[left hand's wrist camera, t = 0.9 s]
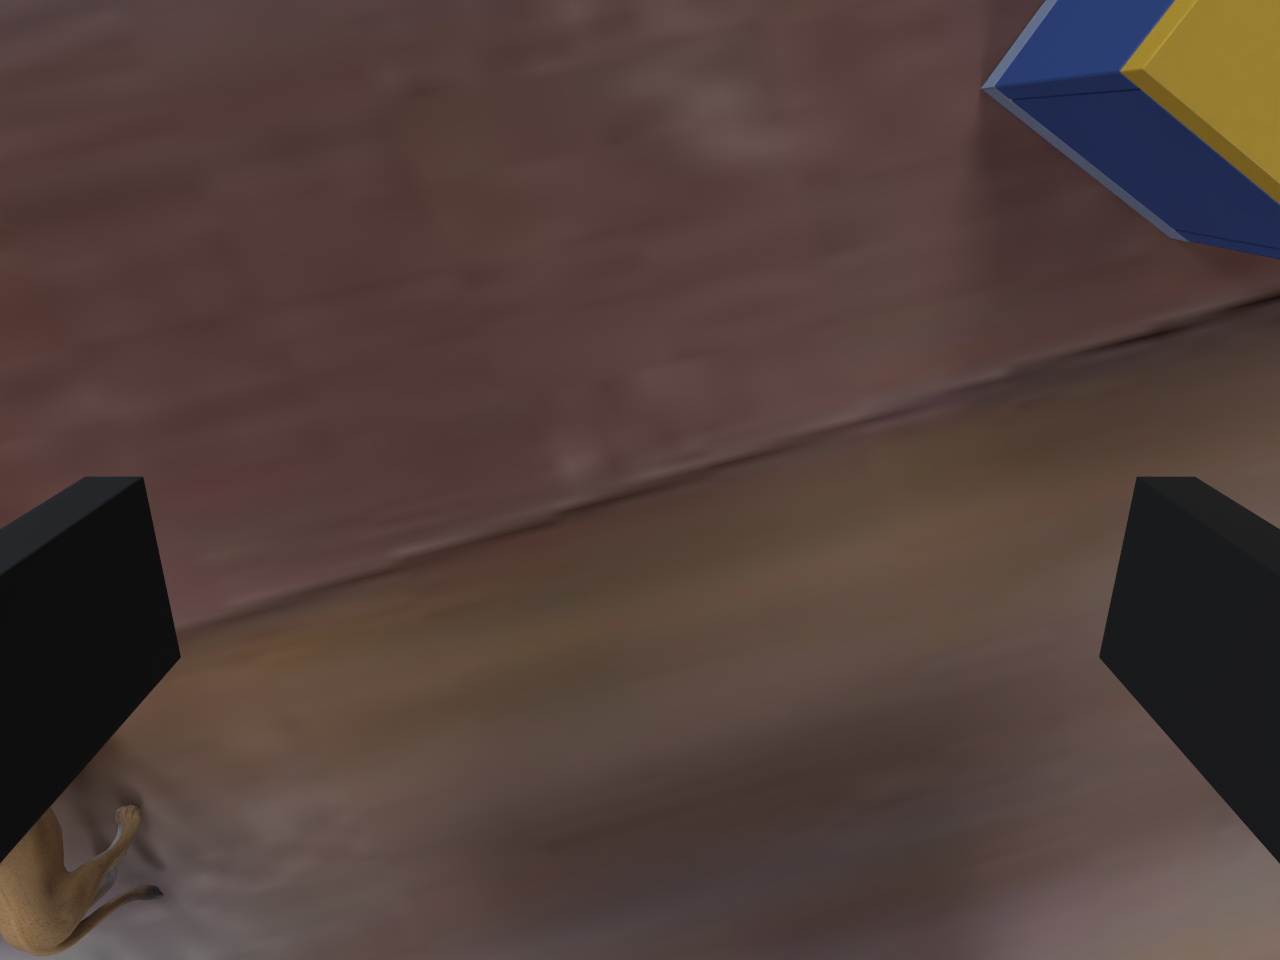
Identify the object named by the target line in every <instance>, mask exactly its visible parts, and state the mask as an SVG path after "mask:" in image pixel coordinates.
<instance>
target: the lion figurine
mask: <svg viewBox="0 0 1280 960" xmlns="http://www.w3.org/2000/svg"><path fill="white" fill-rule="evenodd" d="M115 820H116V822H117V824H118V832H117V835H116V838H115V840H114V841H113V843H112V844H111V846H110V847H109V848H108V849H107V850H106V851H104V852H103V853H101V854H99V855H98V856H96V857H94V858H93V859H91V860H89V861H88V862H86V863H85V864H83V865H82V866H80V867H79V868H78V869H76V870H75V871H73V872H68V871H67V870H66V868H65V866H64V851H63V839H62V830H61V827H60V825H59V823H58V820H57V818H56V816H55V814H54V812H53V811H52V809H51V808H50V807H49V808H48V810H47V811H46V812H45V813H44V814H43V815H42V816H41V818H40V819H39V820H38V821H37V822H36V823H35V824H34V826H33V827H32V828H31V829H30V830H29V831H28V832H27V834H26V835H25V836H24V837H23V838H22V839H21V840H20V842H19V843H18V844H17V845H16V846H15V847H14V848H13V850H12V851H11V852H10V853H9V854H8V855H7V856H6V858H5V859H4V860H3V861H2V862H1V863H0V933H1V935H2V936H3V938H4V940H5V941H6V942H7V943H9V944H10V945H11V946H13V947H15V948H16V949H19V950H21V951H27V952H29V953H31V954H32V955H35V956H50V955H55V954H58V953H60V952H62V951H64V950H65V949H67V948H69V947H71V946H72V945H73V944H75V943H76V942H77V941H79V940H80V939H81V938H82V937H83V936H84V935H86V934H87V933H88V932H89V931H90V930H92V929H93V928H94V927H95V926H96V925H97V924H98V923H100V922H101V921H102V920H103V919H104V918H106V917H107V916H108V915H109V914H110V913H112V912H113V911H114V910H115V909H117V908H118V907H120V906H122V905H123V904H126V903H128V902H130V901H133V900H149V899H156V898H161V897H163V893H162V892H161V891H160V890H159V888H158V887H157V886H154V885H145V886H141V887H135V888H133V889H131V890H129V891H127V892H125V893H123V894H121V895H119V896H117V897H115V898H114V899H112V900H110V901H109V902H108V903H106V904H105V905H103V906H102V907H100V908H99V909H97V910H96V911H95V912H94V913H92V914H91V915H90V916H88V917H87V918H85V919H84V920H82V919H83V917H84V916H85V914H86V912H87V911H88V909H89V908H90V907H92V906H93V905H94V904H95V903H96V902H97V901H98V900H99V899H100V898H101V897H102V896H103V895H104V894H105V893H106V892H107V891H108V890H109V889H110V888H111V887H112V886H113V884H114V882H115V879H116V877H117V870H116V868H115V865H116V864H118V863H119V862H120V861H121V860H122V859H123V858H124V856H125V854H126V851H127V849H128V846H129V844H130V841H131V839H132V837H133V835H134V834H135V832H136V831H137V829H138V827H139V825H140V823H141V820H142V812H141V810H140V809H139V808H138V807H136V806H134V805H126V806H122V807H120V808H119V809H118V810H117V811H116V814H115ZM81 920H82V921H81Z"/></svg>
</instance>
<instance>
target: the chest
mask: <svg viewBox="0 0 1280 960" xmlns="http://www.w3.org/2000/svg"><path fill="white" fill-rule="evenodd" d="M1174 1H1175V0H1045V2H1044V3H1043V4H1042V6H1041V7H1040V9H1039V10H1038V11H1037V13H1036V14H1035V15H1034V17H1033V18H1032V19H1031V21H1030V22H1029V24H1028V25H1027V26H1026V28H1025V29H1024V30H1023V32H1022V33H1021V34H1020V36H1019V37H1018V39H1017V40H1016V41H1015V43H1014V44H1013V45H1012V47H1011V48H1010V50H1009V51H1008V52H1007V54H1006V55H1005V56H1004V58H1003V59H1002V60H1001V62H1000V63H999V65H998V66H997V67H996V69H995V70H994V71H993V73H992V74H991V75H990V77H989V78H988V80H987V81H986V82H985V84H984V85H983V86H982V88H981V89H982V90H983V91H985V92H986V93H987V94H988V95H990V96H991V97H992V98H994V99H995V100H996V101H997V102H999V103H1000V104H1001V105H1002V106H1004V107H1005V108H1006V109H1007V110H1009V111H1010V112H1011V113H1013V114H1014V115H1015V116H1016V117H1018V118H1019V119H1020V120H1021V121H1023V122H1024V123H1025V124H1026V125H1028V126H1029V127H1030V128H1031V129H1033V130H1034V131H1035V132H1037V133H1038V134H1039V135H1040V136H1042V137H1043V138H1044V139H1045V140H1047V141H1048V142H1049V143H1050V144H1052V145H1053V146H1054V147H1055V148H1057V149H1058V150H1059V151H1061V152H1062V153H1063V154H1064V155H1066V156H1067V157H1068V158H1069V159H1071V160H1072V161H1073V162H1074V163H1076V164H1077V165H1078V166H1080V167H1081V168H1082V169H1083V170H1085V171H1086V172H1087V173H1088V174H1090V175H1091V176H1092V177H1093V178H1095V179H1096V180H1097V181H1098V182H1100V183H1101V184H1102V185H1104V186H1105V187H1106V188H1107V189H1109V190H1110V191H1111V192H1112V193H1114V194H1115V195H1116V196H1117V197H1119V198H1120V199H1121V200H1123V201H1124V202H1125V203H1126V204H1128V205H1129V206H1130V207H1131V208H1133V209H1134V210H1135V211H1136V212H1138V213H1139V214H1140V215H1141V216H1143V217H1144V218H1145V219H1147V220H1148V221H1149V222H1150V223H1152V224H1153V225H1154V226H1155V227H1157V228H1158V229H1159V230H1160V231H1162V232H1163V233H1164V234H1166V235H1167V236H1168V237H1169V238H1171V239H1175V240H1180V241H1185V242H1190V241H1192V242H1197V243H1202V244H1207V245H1212V246H1217V247H1221V248H1226V249H1231V250H1236V251H1241V252H1246V253H1251V254H1256V255H1261V256H1266V257H1271V258H1276V259H1280V204H1279V203H1278V202H1276V201H1275V200H1274V199H1273V198H1272V197H1270V196H1269V195H1268V194H1267V193H1266V192H1264V191H1263V190H1262V189H1261V188H1259V187H1258V186H1257V185H1256V184H1255V183H1253V182H1252V181H1251V180H1250V179H1249V178H1247V177H1246V176H1245V175H1244V174H1243V173H1241V172H1240V171H1239V170H1238V169H1237V168H1235V167H1234V166H1233V165H1232V164H1231V163H1229V162H1228V161H1227V160H1226V159H1224V158H1223V157H1222V156H1221V155H1220V154H1218V153H1217V152H1216V151H1215V150H1214V149H1212V148H1211V147H1210V146H1209V145H1208V144H1206V143H1205V142H1204V141H1203V140H1202V139H1200V138H1199V137H1198V136H1197V135H1196V134H1194V133H1193V132H1192V131H1191V130H1189V129H1188V128H1187V127H1186V126H1185V125H1183V124H1182V123H1181V122H1180V121H1179V120H1177V119H1176V118H1175V117H1174V116H1173V115H1171V114H1170V113H1169V112H1168V111H1167V110H1165V109H1164V108H1163V107H1162V106H1161V105H1159V104H1158V103H1157V102H1156V101H1155V100H1153V99H1152V98H1151V97H1150V96H1148V95H1147V94H1146V93H1145V92H1144V91H1142V90H1141V89H1140V88H1139V87H1138V86H1136V85H1135V84H1134V83H1133V82H1132V81H1130V80H1129V79H1128V78H1127V77H1126V76H1124V75H1123V74H1122V73H1121V72H1120V71H1121V69H1122V68H1123V67H1124V65H1125V64H1126V63H1127V62H1128V60H1129V59H1130V58H1131V56H1132V55H1133V54H1134V53H1135V51H1136V50H1137V49H1138V47H1139V46H1140V45H1141V44H1142V42H1143V41H1144V40H1145V38H1146V37H1147V36H1148V35H1149V33H1150V32H1151V31H1152V29H1153V28H1154V27H1155V26H1156V24H1157V23H1158V22H1159V20H1160V19H1161V18H1162V17H1163V15H1164V14H1165V13H1166V11H1167V10H1168V9H1169V8H1170V6H1171V5H1172V4H1173V2H1174Z"/></svg>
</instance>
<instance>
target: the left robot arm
mask: <svg viewBox="0 0 1280 960" xmlns="http://www.w3.org/2000/svg"><path fill="white" fill-rule="evenodd" d="M180 658H181V656H180V651H179V646H178V641H177V637H176V632H175V627H174V622H173V617H172V613H171V608H170V603H169V598H168V593H167V589H166V584H165V579H164V574H163V570H162V565H161V560H160V555H159V550H158V546H157V541H156V536H155V531H154V526H153V522H152V517H151V512H150V507H149V502H148V498H147V493H146V488H145V483H144V479H143V477H84V478H82V479H81V480H79V481H78V482H76V483H74V484H73V485H71V486H69V487H68V488H66V489H65V490H63V491H61V492H60V493H58V494H57V495H55V496H53V497H52V498H50V499H49V500H47V501H45V502H44V503H42V504H40V505H39V506H37V507H36V508H34V509H32V510H31V511H29V512H28V513H26V514H24V515H23V516H21V517H20V518H18V519H16V520H15V521H13V522H11V523H10V524H8V525H7V526H5V527H3V528H2V529H0V863H1V862H2V861H3V860H4V859H5V858H6V856H7V855H8V854H9V853H10V852H11V851H12V850H13V848H14V847H15V846H16V845H17V844H18V843H19V842H20V840H21V839H22V838H23V837H24V836H25V835H26V834H27V832H28V831H29V830H30V829H31V828H32V827H33V826H34V824H35V823H36V822H37V821H38V820H39V819H40V818H41V816H42V815H43V814H44V813H45V812H46V811H47V810H48V808H49V807H50V806H51V805H52V804H53V803H54V802H55V800H56V799H57V798H58V797H59V796H60V795H61V794H62V792H63V791H64V790H65V789H66V788H67V787H68V786H69V784H70V783H71V782H72V781H73V780H74V779H75V778H76V776H77V775H78V774H79V773H80V772H81V771H82V770H83V768H84V767H85V766H86V765H87V764H88V763H89V762H90V760H91V759H92V758H93V757H94V756H95V755H96V754H97V752H98V751H99V750H100V749H101V748H102V747H103V746H104V744H105V743H106V742H107V741H108V740H109V739H110V738H111V736H112V735H113V734H114V733H115V732H116V731H117V730H118V728H119V727H120V726H121V725H122V724H123V723H124V722H125V720H126V719H127V718H128V717H129V716H130V715H131V714H132V712H133V711H134V710H135V709H136V708H137V707H138V706H139V704H140V703H141V702H142V701H143V700H144V699H145V698H146V696H147V695H148V694H149V693H150V692H151V691H152V690H153V688H154V687H155V686H156V685H157V684H158V683H159V682H160V680H161V679H162V678H163V677H164V676H165V675H166V674H167V672H168V671H169V670H170V669H171V668H172V667H173V666H174V664H175V663H176V662H177V661H178V660H179V659H180ZM1099 658H1100V659H1101V660H1102V661H1103V662H1104V663H1105V664H1106V666H1107V667H1108V668H1109V669H1110V670H1111V671H1112V672H1113V674H1114V675H1115V676H1116V677H1117V678H1118V679H1119V680H1120V682H1121V683H1122V684H1123V685H1124V686H1125V687H1126V688H1127V690H1128V691H1129V692H1130V693H1131V694H1132V695H1133V696H1134V698H1135V699H1136V700H1137V701H1138V702H1139V703H1140V704H1141V706H1142V707H1143V708H1144V709H1145V710H1146V711H1147V712H1148V714H1149V715H1150V716H1151V717H1152V718H1153V719H1154V720H1155V722H1156V723H1157V724H1158V725H1159V726H1160V727H1161V728H1162V730H1163V731H1164V732H1165V733H1166V734H1167V735H1168V736H1169V738H1170V739H1171V740H1172V741H1173V742H1174V743H1175V744H1176V746H1177V747H1178V748H1179V749H1180V750H1181V751H1182V752H1183V754H1184V755H1185V756H1186V757H1187V758H1188V759H1189V760H1190V762H1191V763H1192V764H1193V765H1194V766H1195V767H1196V768H1197V770H1198V771H1199V772H1200V773H1201V774H1202V775H1203V776H1204V778H1205V779H1206V780H1207V781H1208V782H1209V783H1210V784H1211V786H1212V787H1213V788H1214V789H1215V790H1216V791H1217V792H1218V794H1219V795H1220V796H1221V797H1222V798H1223V799H1224V800H1225V802H1226V803H1227V804H1228V805H1229V806H1230V807H1231V808H1232V810H1233V811H1234V812H1235V813H1236V814H1237V815H1238V816H1239V818H1240V819H1241V820H1242V821H1243V822H1244V823H1245V824H1246V826H1247V827H1248V828H1249V829H1250V830H1251V831H1252V832H1253V834H1254V835H1255V836H1256V837H1257V838H1258V839H1259V840H1260V842H1261V843H1262V844H1263V845H1264V846H1265V847H1266V848H1267V850H1268V851H1269V852H1270V853H1271V854H1272V855H1273V856H1274V858H1275V859H1276V860H1277V861H1278V862H1279V863H1280V529H1278V528H1277V527H1275V526H1273V525H1272V524H1270V523H1269V522H1267V521H1265V520H1264V519H1262V518H1260V517H1259V516H1257V515H1256V514H1254V513H1252V512H1251V511H1249V510H1248V509H1246V508H1244V507H1243V506H1241V505H1240V504H1238V503H1236V502H1235V501H1233V500H1231V499H1230V498H1228V497H1227V496H1225V495H1223V494H1222V493H1220V492H1219V491H1217V490H1215V489H1214V488H1212V487H1211V486H1209V485H1207V484H1206V483H1204V482H1202V481H1201V480H1199V479H1198V478H1196V477H1137V479H1136V483H1135V488H1134V493H1133V498H1132V502H1131V507H1130V512H1129V517H1128V522H1127V526H1126V531H1125V536H1124V541H1123V546H1122V550H1121V555H1120V560H1119V565H1118V570H1117V574H1116V579H1115V584H1114V589H1113V593H1112V598H1111V603H1110V608H1109V613H1108V617H1107V622H1106V627H1105V632H1104V637H1103V641H1102V646H1101V651H1100V656H1099Z"/></svg>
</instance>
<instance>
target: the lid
mask: <svg viewBox="0 0 1280 960" xmlns="http://www.w3.org/2000/svg"><path fill="white" fill-rule="evenodd" d="M1120 72H1121V73H1122V74H1123V75H1124V76H1126V77H1127V78H1128V79H1129V80H1130V81H1132V82H1133V83H1134V84H1135V85H1136V86H1138V87H1139V88H1140V89H1141V90H1142V91H1144V92H1145V93H1146V94H1147V95H1148V96H1150V97H1151V98H1152V99H1153V100H1155V101H1156V102H1157V103H1158V104H1159V105H1161V106H1162V107H1163V108H1164V109H1165V110H1167V111H1168V112H1169V113H1170V114H1171V115H1173V116H1174V117H1175V118H1176V119H1177V120H1179V121H1180V122H1181V123H1182V124H1183V125H1185V126H1186V127H1187V128H1188V129H1189V130H1191V131H1192V132H1193V133H1194V134H1196V135H1197V136H1198V137H1199V138H1200V139H1202V140H1203V141H1204V142H1205V143H1206V144H1208V145H1209V146H1210V147H1211V148H1212V149H1214V150H1215V151H1216V152H1217V153H1218V154H1220V155H1221V156H1222V157H1223V158H1224V159H1226V160H1227V161H1228V162H1229V163H1231V164H1232V165H1233V166H1234V167H1235V168H1237V169H1238V170H1239V171H1240V172H1241V173H1243V174H1244V175H1245V176H1246V177H1247V178H1249V179H1250V180H1251V181H1252V182H1253V183H1255V184H1256V185H1257V186H1258V187H1259V188H1261V189H1262V190H1263V191H1264V192H1266V193H1267V194H1268V195H1269V196H1270V197H1272V198H1273V199H1274V200H1275V201H1276V202H1278V203H1279V204H1280V0H1175V1H1174V2H1173V4H1172V5H1171V6H1170V8H1169V9H1168V10H1167V11H1166V13H1165V14H1164V15H1163V17H1162V18H1161V19H1160V20H1159V22H1158V23H1157V24H1156V26H1155V27H1154V28H1153V29H1152V31H1151V32H1150V33H1149V35H1148V36H1147V37H1146V38H1145V40H1144V41H1143V42H1142V44H1141V45H1140V46H1139V47H1138V49H1137V50H1136V51H1135V53H1134V54H1133V55H1132V56H1131V58H1130V59H1129V60H1128V62H1127V63H1126V64H1125V65H1124V67H1123V68H1122V69H1121V71H1120Z"/></svg>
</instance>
